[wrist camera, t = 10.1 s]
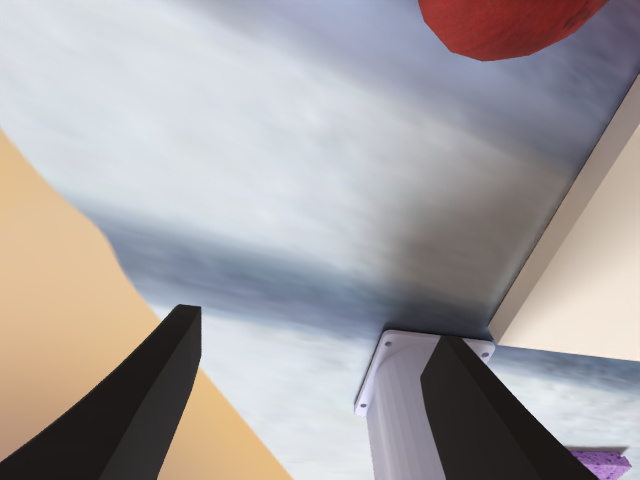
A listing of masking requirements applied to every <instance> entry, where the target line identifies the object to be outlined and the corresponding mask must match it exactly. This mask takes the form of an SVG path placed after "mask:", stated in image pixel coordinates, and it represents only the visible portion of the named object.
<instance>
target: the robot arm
mask: <svg viewBox="0 0 640 480" xmlns="http://www.w3.org/2000/svg"><path fill="white" fill-rule="evenodd" d="M388 341H390V342H388ZM494 351H495V346H494V344H493V343H492V342H490V341H483V340H475V339H466V338H461V337H456V336H447V335H441V336H440V335H432V334H423V333H415V332H406V331H398V330H387V331H385V332H384V333H383V334H382V337H381V340H380V342H379V345H378V347H377V350H376V353H375V355H374V358H373V360H372V363H371V366H370V368H369V371H368V373H367V376H366V378H365V381H364V384H363V386H362V389H361V391H360V394H359V397H358V399H357V402H356V404H355V407H354V414H355V415H356V416H360V417H366V419H367V426H368V433H369V441H370V448H371V455H372V462H373V469H374V476H375V480H600V479H599V478H598V477H597V476H596V475H595V474H594V473H592V472H591V471H590V470H589V469H588V468H587V467H586V466H585V465H584V464H582V463H581V462H580V461H579V460H578V459H577V458H576V457H575V456H574V455H572V454H571V453H570V452H569V451H568V450H567V449H566V448H565V447H564V446H563V445H562V444H561V443H560V442H559V441H558V440H557V439H556V438H555V437H554V436H553V435H552V434H551V433H550V432H549V431H548V430H547V429H546V428H545V427H544V426H543V425H542V424H541V423H540V422H539V421H538V420H537V419H536V418H535V417H534V416H533V415H532V414H531V413H530V412H529V411H528V410H527V409H526V408H525V407H524V406H523V405H522V404H521V403H520V402H519V400H518V399H517V398H516V397H515V396H514V395H513V394H512V393H511V392H510V391H509V390H508V389H507V387H506V386H505V385H504V384H503V383H502V382H501V381H500V380H499V379H498V378H497V376H496V375H495V374H494V373H493V372H492V371H491V370H490V369H489V368H488V366H487V365H486V363H487V361H488V360H489V358H490V357H491V355H492V354H493V352H494ZM200 359H201V307H199V306H191V305H182V304H179V305H177V306H176V307H175V308H174V309H173V310H172V311H171V312H170V313H169V315H168V316H167V317H166V318H165V319H164V320H163V321H162V322H161V323H160V324H159V326H158V327H157V328H156V329H155V330H154V331H153V332H152V333H151V334H150V335H149V336H148V337H147V338H146V339H145V340H144V341H143V342H142V343H141V344H140V345H139V346H138V347H137V348H136V349H135V350H134V351H133V352H132V353H131V354H130V355H129V356H128V357H127V358H126V359H125V360H124V361H123V362H122V363H121V364H120V365H119V366H118V367H117V368H116V369H115V370H113V371H112V372H111V373H110V374H109V375H108V376H107V377H106V378H105V379H103V381H101V382H100V383H99V384H98V385H97V386H96V387H95V388H93V389H92V390H91V391H90V392H89V393H88V394H87V395H86V396H85V397H83V398H82V399H81V400H80V401H79V402H77V403H76V404H75V405H74V406H73V407H71V408H70V409H69V410H68V411H67V412H65V413H64V414H63V415H62V416H61V417H59V418H58V419H57V420H55V421H54V422H53V423H52V424H50V425H49V426H48V427H47V428H45V429H44V430H43V431H41V432H40V433H39V434H38V435H36V436H35V437H34V438H32V439H31V440H30V441H28V442H27V443H26V444H24V445H23V446H22V447H20V448H19V449H18V450H16V451H15V452H13V453H12V454H11V455H9V456H8V457H7V458H5V459H4V460H3V461H1V462H0V480H157V477H158V474H159V472H160V469H161V467H162V464H163V462H164V459H165V456H166V454H167V452H168V449H169V447H170V444H171V442H172V439H173V436H174V434H175V431H176V429H177V426H178V424H179V421H180V419H181V416H182V414H183V411H184V409H185V406H186V404H187V401H188V398H189V396H190V393H191V391H192V387H193V384H194V380H195V377H196V373H197V370H198V366H199V362H200Z"/></svg>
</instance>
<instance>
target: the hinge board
mask: <svg viewBox="0 0 640 480" xmlns="http://www.w3.org/2000/svg"><path fill="white" fill-rule="evenodd" d="M487 328H488V330H489V332H490V333H491V335H492V337H493V338H494V340H495V342H496V344H497V345H504V346H513V347H521V348H530V349H539V350H547V351H556V352H565V353H573V354H582V355H590V356H599V357H608V358H616V359H625V360H634V361H640V73H639V75H638V77H637V78H636V80H635V82H634V83H633V85H632V87H631V88H630V90H629V92H628V93H627V95H626V97H625V98H624V100H623V102H622V103H621V105H620V107H619V108H618V110H617V112H616V113H615V115H614V117H613V118H612V120H611V122H610V123H609V125H608V127H607V128H606V130H605V132H604V133H603V135H602V137H601V138H600V140H599V142H598V143H597V145H596V147H595V148H594V150H593V152H592V153H591V155H590V157H589V158H588V160H587V162H586V163H585V165H584V167H583V168H582V170H581V172H580V173H579V175H578V177H577V178H576V180H575V182H574V183H573V185H572V187H571V188H570V190H569V192H568V193H567V195H566V197H565V198H564V200H563V202H562V203H561V205H560V207H559V208H558V210H557V212H556V213H555V215H554V217H553V218H552V220H551V222H550V223H549V225H548V227H547V228H546V230H545V232H544V233H543V235H542V237H541V238H540V240H539V242H538V243H537V245H536V247H535V248H534V250H533V252H532V253H531V255H530V257H529V258H528V260H527V262H526V263H525V265H524V267H523V268H522V270H521V272H520V273H519V275H518V277H517V278H516V280H515V282H514V283H513V285H512V287H511V288H510V290H509V292H508V293H507V295H506V297H505V298H504V300H503V302H502V303H501V305H500V307H499V308H498V310H497V312H496V313H495V315H494V317H493V318H492V320H491V322H490V323H489V325H488V327H487Z"/></svg>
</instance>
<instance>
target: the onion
mask: <svg viewBox="0 0 640 480" xmlns="http://www.w3.org/2000/svg"><path fill="white" fill-rule="evenodd" d="M608 1H609V0H418V3H419V6H420V9H421V13H422V16H423V19H424V22H425V23H426V24H427V25H428V26H429V27H430V28H431V30H432V31H433V32H434V33H435V34H436V35H437V36H438V38H439V39H440V40H441V41H442V42H443V43H444V44H445V46H446V47H447V48H448V49H449V50H450V51H451V52H453V53H457V54H460V55H463V56H467V57H470V58H473V59H476V60H480V61H495V60H502V59H508V58H515V57H522V56H529V55H531V54H533V53H535V52H537V51H539V50H541V49H543V48H545V47H547V46H549V45H551V44H553V43H555V42H558V41H560V40H562V39H564V38H566V37H567V36H569V35H570V34H572V33H574V32H575V31H577V30H578V29H579V28H580V27H581V26H582V25H583V24H584V23H585V22H586V21H587V20H589V19H590V18H591V17H592V16H593V15H594V14H595V13H596V12H597V11H598V10H599V9H601V8H602V7H603V6H604V5H605V4H606V3H607V2H608Z"/></svg>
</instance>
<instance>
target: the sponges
mask: <svg viewBox="0 0 640 480" xmlns="http://www.w3.org/2000/svg"><path fill="white" fill-rule="evenodd" d="M569 452H570V453H571V454H572V455H574V456H575V457H576V458H577V459H578V460H579V461H580V462H581V463H582V464H584V465H585V466H586V467H587V468H588V469H589V470H590V471H591V472H592V473H594V474H595V475H596V476H597V477H598V478H599V479H600V480H617V479H618V478H619V477H620V476H622V475H623V474H624V473H625V472H627V471H628V470H629V469H630V468H631V467H632V466H631V465H630V464H629V461H628V460H627V459H626V457H625V456H623V457H620V455H618V452H592V451H588V452H586V451H584V452H577V451H569Z"/></svg>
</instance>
